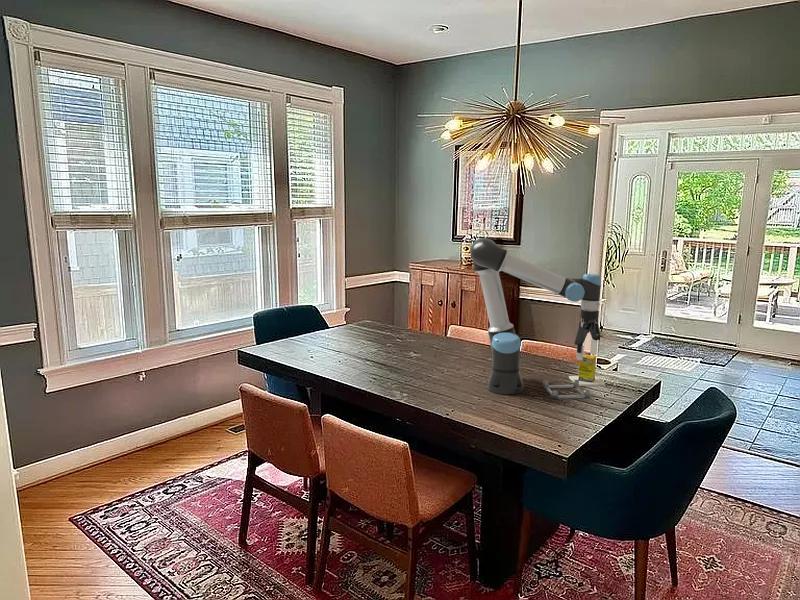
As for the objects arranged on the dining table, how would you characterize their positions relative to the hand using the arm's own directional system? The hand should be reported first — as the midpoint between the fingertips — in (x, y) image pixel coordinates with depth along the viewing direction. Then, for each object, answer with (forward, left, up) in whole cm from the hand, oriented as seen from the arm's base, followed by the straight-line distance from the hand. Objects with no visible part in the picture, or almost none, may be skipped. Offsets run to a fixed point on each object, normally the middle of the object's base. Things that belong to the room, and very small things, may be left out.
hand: (586, 356), depth 242 cm
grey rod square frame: (-14, -14, -11) cm, 23 cm away
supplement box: (0, 0, -11) cm, 11 cm away
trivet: (0, 0, -11) cm, 11 cm away
